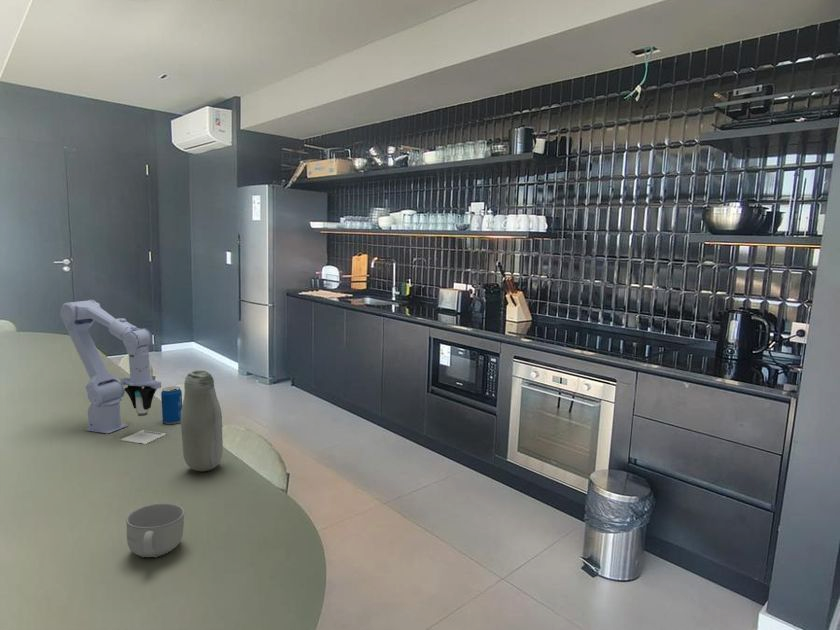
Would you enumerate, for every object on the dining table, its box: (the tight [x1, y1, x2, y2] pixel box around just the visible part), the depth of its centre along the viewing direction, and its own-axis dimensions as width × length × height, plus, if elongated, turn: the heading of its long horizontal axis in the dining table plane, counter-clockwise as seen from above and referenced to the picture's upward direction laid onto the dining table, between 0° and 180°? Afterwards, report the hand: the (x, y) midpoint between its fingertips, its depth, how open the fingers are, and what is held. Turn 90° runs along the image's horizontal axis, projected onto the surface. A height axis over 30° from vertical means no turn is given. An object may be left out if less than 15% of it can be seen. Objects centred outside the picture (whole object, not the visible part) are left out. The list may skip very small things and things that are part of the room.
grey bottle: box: [180, 370, 224, 472], centre depth 149 cm, size 10×10×28 cm
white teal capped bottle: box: [135, 390, 149, 417], centre depth 175 cm, size 4×4×8 cm
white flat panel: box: [120, 429, 167, 445], centre depth 174 cm, size 10×9×1 cm
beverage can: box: [160, 386, 183, 425], centre depth 188 cm, size 6×6×12 cm
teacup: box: [125, 502, 185, 558], centre depth 110 cm, size 14×11×8 cm
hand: (142, 408), depth 175 cm, fingers closed on white teal capped bottle, 3 cm apart
